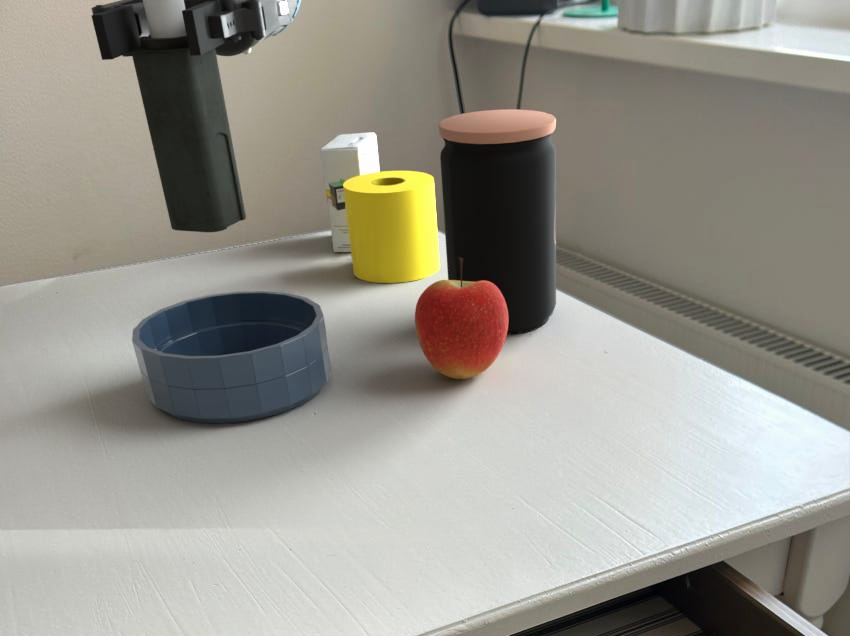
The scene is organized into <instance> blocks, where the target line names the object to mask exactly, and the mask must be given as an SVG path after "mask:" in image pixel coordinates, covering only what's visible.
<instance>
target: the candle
mask: <svg viewBox="0 0 850 636" xmlns="http://www.w3.org/2000/svg"><path fill="white" fill-rule="evenodd" d="M143 3H144V8H145V13H146V17H147V22H148V26H149V31H150V35H148V36H143V37H140V43H141V47H139V48H135V49H132V50H131V53H132V56H131V57H132V61H133V66H134V71H135V74H136V78H137V84H138V88H139V91H140V96H141V100H142V101H141V102H142V104H143V105H142V106H143V109H144V114H145V118H146V122H147V127H148V131H149V134H150V140H151V144H152V149H153V152H154V157H155V161H156V166H157V170H158V175H159V179H160V183H161V188H162V192H163V197H164V200H165V206H166V210H167V213H168V214H167V215H168V219H169V223H170V226H171V229H172V230H174V231H178V232H179V231H180V232H194V233H217V232H223V231H225V230H227V229H228V228H229V227H231V226H233V225H235V224H237V223H239V222H241V221H244V220H246V218H247V215H246V209H245V204H244V198H243V193H242V188H241V181H240V177H239V171H238V165H237V160H236V156H235V155H236V154H235V150H234V144H233V139H232V134H231V133H232V132H231V128H230V121H229V117H228V112H227V105H226V101H225V95H224V89H223V84H222V79H221V73H220V67H219V63H218V62H219V61H218V58H217V57H218V55H216V51H215V48H214V49H212V50H210V51H208V52H206V53H204V54H202V55H194V56H191V55H190V50H189V45H188V40H187V35H186V30H185V25H184V19H183V14H182V11H183V10H185V4H184V0H143Z"/></svg>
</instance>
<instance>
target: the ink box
mask: <svg viewBox="0 0 850 636" xmlns="http://www.w3.org/2000/svg"><path fill="white" fill-rule="evenodd" d="M320 159H321V165H322V172H323V179H324V180H323V181H324V187H325V194H326V202H327V210H328V216H329V224H330V231H331V233H330V234H331V240H332V249H333V252H334V253H351V245H350V237H349V229H348V221H347V212H346V204H345V196H344V188H343V184H344V182H345V181H347V180H348V179H350V178H353V177H356V176H359V175H363V174H368V173H374V172H381V170H380V161H379V149H378V139H377V134H376V133H375V132H372V131H370V132H369V131H368V132H356V133H343V134H338V135H336V136H335V137H334V138H333V139H331V140H330V141H329V142H328V143H327V144H326V145H324V146H322V147H321V148H320Z"/></svg>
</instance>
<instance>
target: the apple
mask: <svg viewBox="0 0 850 636" xmlns="http://www.w3.org/2000/svg"><path fill="white" fill-rule="evenodd" d="M459 261H460V274H461V281H459V280H448V279H440V280H437V281H435V282H433V283H431V284H429V286H427V287H426V288H425V289H424V290H423V291H422V293H421V294H420V296H419V297H418V299H417V302H416V304H415V311H414V325H415V331H416V336H417V339H418V340H417V341H418V343H419V346H420V348H421V351H422V353H423V354H424V356H425V358H426V360H427V361H428V362H429V364H430V365H431V366H432V368H434V369H435V370H436V371H437V372H438V373H440V374H441V375H443V376H445V377H447V378H451V379H455V380H466V379H471V378H474V377H477V376H478V375H481V374H482V373H483V372H485V371H486V370H487V369H488V368H490V366H492V365H493V364H494V362H495V361H496V360H497V358H498V357H499V355H500V353H501V351H502V349H503V347H504V345H505V343H506V339H507V336H508V334H507V331H508V310H507V305H506V302H505V299H504V297H503V295H502V293H501V292H500V290H499V289H498V288H497V286H495V285H494V284H493V283H491V282H489V281H483V280H482V281H478V282H470V281H462V266H463V258H461V257H459Z"/></svg>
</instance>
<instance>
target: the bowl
mask: <svg viewBox="0 0 850 636" xmlns="http://www.w3.org/2000/svg"><path fill="white" fill-rule="evenodd" d="M324 315H325V314H324V312H323V309H322V308H321V305H320V304H318V303H316V302H315V301H314V300H312V299H310V298H308V297H306V296H302V295H298V294H294V293H292V292H291V293H290V292H283V291H273V290H246V291H245V290H243V291H242V290H241V291H240V290H239V291H231V292H230V291H229V292H223V293H222V292H221V293H214V294H209V295H204V296H199V297H196V298H191V299H187V300H182V301H180V302H177V303H174V304H171V305H169V306H166V307H163V308H161V309H158V310H157V311H155V312H153V313H151V314H149V315H148V316H146V317H144V318H142V319H141V321H139V323H137V325H136V326H134V328H133V329H132V334H131V335H132V336H131V337H132V339H131V342H132V346H133V350H134V352H135V356H136V360H137V364H138V367H139V371H140V375H141V379H142V383H143V386H144V389H145V393H146V397H147V400H149V401H150V402H151V403H152V404H153V405H154V406H155V408H157V409H158V410H161V411H163V412H165V413H167V414H169V415H170V416H173V417H175V418H177V419H181V420H183V421H189V422H194V423H201V424H233V423H241V422H250V421H256V420H262V419H264V418H270V417H273V416H277V415H279V414H282V413H286V412H288V411H290V410H293V409H295V408H297V407H299V406H301V405H303V404H305V403H307V402H309V400H311V399H312V398H314V396H316V395H317V393H319V391H320V390H321V388H323V386H325V385H326V384H327V383H328V381H329V378H330V376H331V373H332V371H333V369H332V364H331V358H330V356H331V355H330V351H329V343H328V335H327V329H326V323H325V316H324Z"/></svg>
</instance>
